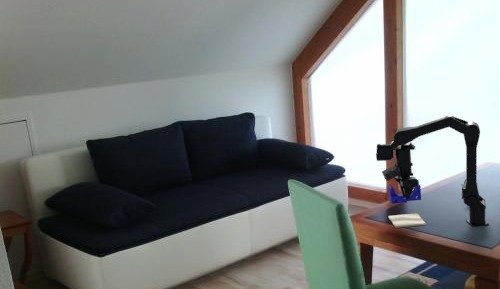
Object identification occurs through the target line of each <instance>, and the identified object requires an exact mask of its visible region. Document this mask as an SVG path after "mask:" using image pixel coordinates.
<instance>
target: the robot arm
mask: <svg viewBox="0 0 500 289" xmlns="http://www.w3.org/2000/svg"><path fill="white" fill-rule="evenodd" d="M447 128H451V129H452V130H454V131H456V132H458V133H459V134H463V139H464V142H465V149H466V150H465V152H466V154H465V158H466V159H465V160H466V161H465V162H466V164H465V170H466V171H465V172H466V173H465V174H466V178H465V179H466V183H465V185H464V183H461V184H460V185H461V192H460V194H461V200H463V202H464V204H465V205H466V206H467V207H468V213H469V214H468V215H469V216H468V217H469V218H466V219H465V221H466V222H467V223H468V224H469V225H470V226H471V227H479V226H488V225H489V226H490V222H488V221H487V220H486V209H487V207H486V206H487V205H486V200H485V198H483V197H482V196H481V195H480V192H479V188H478V184H477V183H478V182H477V175H478V174H477V172H478V171H477V168H478V166H477V163H478V162H477V160H478V159H477V157H478V156H477V152H478V150H477V149H478V144H479V140H480V134H481V129H480V126H479V123H477V122H475V121H467V120H464V119H463V118H459V117H457V116H454V115H453V114H448V115H445V116H444V117H440V118H438V119H435V120H431V121H429V122H426V123H423V124H419V125H416V126H407V127H401V128H399V129H397V130H396V131H395V133H394V136H393V140H392V141H391V142H390V143H377V145H376V153H375V156H376V158H375V159H376V161H378V162H385V161H387V162H389V161H390V162H391V161H392V160H393V159H395V162H394V163H393V164H394V165H393V166H391V167H389V168H386V169H384V170H382V171H381V174H382V175H383V177H384V179H385V181H386V182H388V181H391V180H395V181H396V182H397V183H398V185H399V188H400V191H401V195H402V196H404V195H405V198H406V199H409V198H410V195H411V193H412V191H413V189H414V187H415V186H419V185H420V182H419V180H418V179H417V178H416V177H415V176H414V173H413V171H412V167H413V165H414V164H413V162H412V156H411V155H412V154H411V151H412V150H416V145H414V144H413V143H412V141H415V140H416V139H417V138H419V137H422V136H426V135H429V134H431V133H434V132H438V131H441V130H444V129H447Z"/></svg>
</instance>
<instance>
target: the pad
mask: <svg viewBox="0 0 500 289" xmlns="http://www.w3.org/2000/svg"><path fill="white" fill-rule="evenodd" d="M387 217H388V219H389V220H390V222H391V223H392V225H393V226H394V228H396V229H397V228H398V229H399V228H408V227H417V226H425V225H426V226H427V223H426V222H425V221H424V220H423V219H422V217H421V216H420V215H419V214H418V213H417V212H416V213H407V214H406V213H405V214H396V215H388V216H387Z"/></svg>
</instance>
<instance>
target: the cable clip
mask: <svg viewBox="0 0 500 289" xmlns="http://www.w3.org/2000/svg"><path fill="white" fill-rule="evenodd" d="M421 187H422V186H421V184H419V186H415V187H414V189H413V191H412V193H411V195H410V198H409V199H406V198H405V195H404V196H403V195H402V194H398V193H396V190H395V188H394V186H393V185H390V186H388V198H389V199H388V200H389V202H390V204H392V205H393V204H405V203H407V202H413V201H421V200H422V192H421V190H422V189H421Z"/></svg>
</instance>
